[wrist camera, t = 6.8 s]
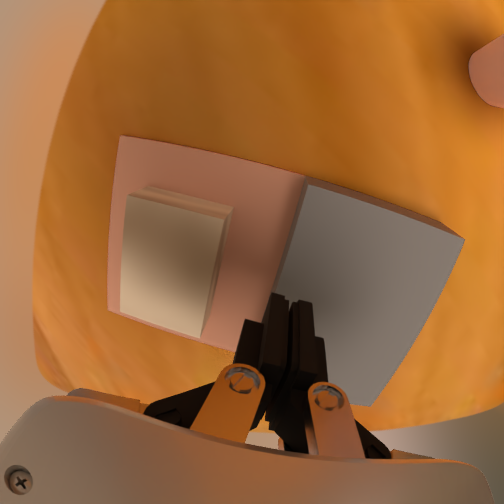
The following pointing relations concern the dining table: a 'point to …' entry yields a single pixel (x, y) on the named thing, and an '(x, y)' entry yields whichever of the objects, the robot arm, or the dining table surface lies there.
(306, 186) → the plate
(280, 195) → the mat
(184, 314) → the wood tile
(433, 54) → the dining table surface
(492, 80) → the smoothie
